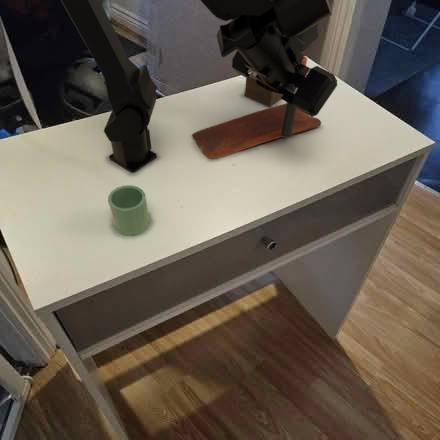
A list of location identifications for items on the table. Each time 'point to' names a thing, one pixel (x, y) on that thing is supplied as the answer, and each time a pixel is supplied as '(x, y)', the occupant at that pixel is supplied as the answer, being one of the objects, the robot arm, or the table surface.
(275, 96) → the pen stand
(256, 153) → the table surface
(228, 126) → the wooden tablet
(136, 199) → the pen cup
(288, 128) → the stylus
